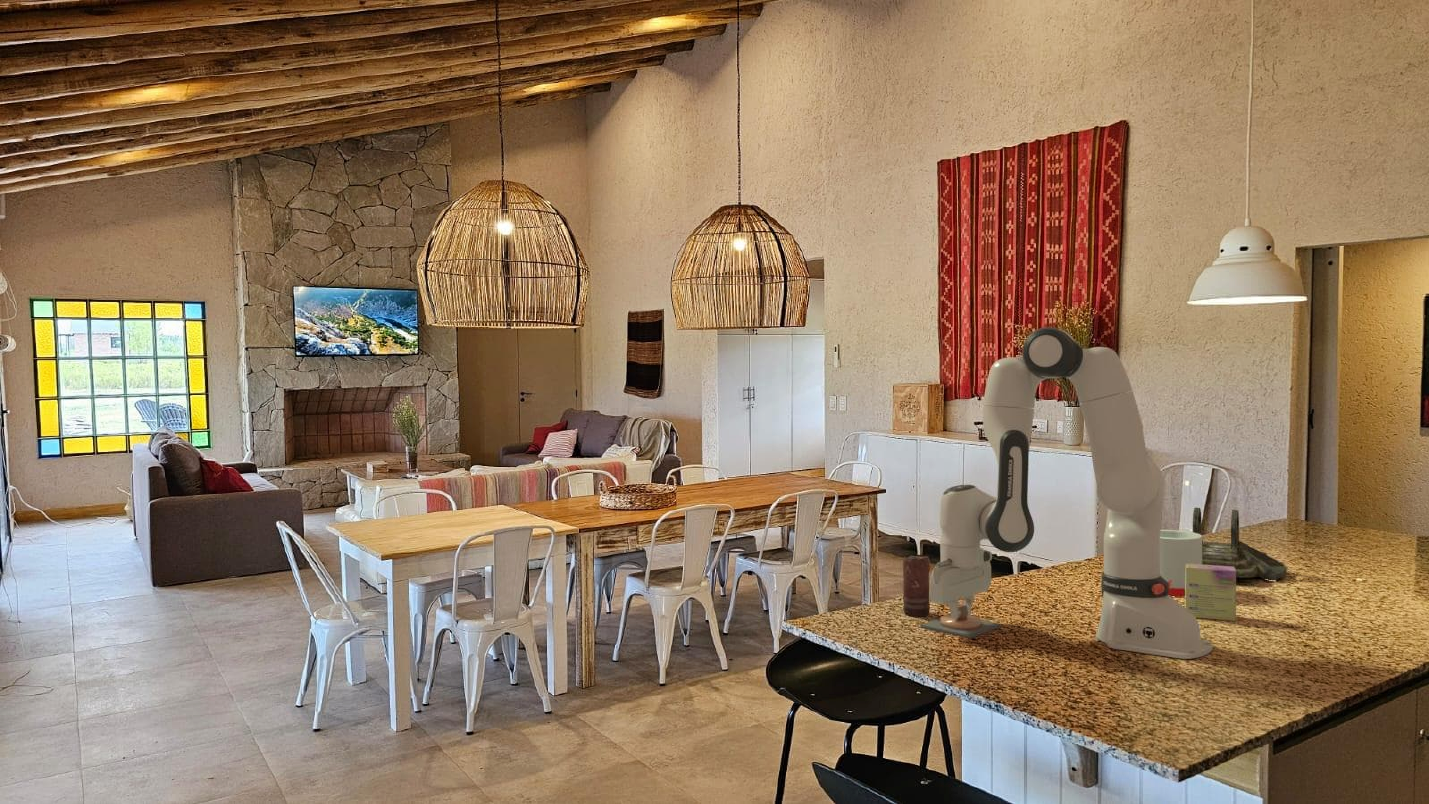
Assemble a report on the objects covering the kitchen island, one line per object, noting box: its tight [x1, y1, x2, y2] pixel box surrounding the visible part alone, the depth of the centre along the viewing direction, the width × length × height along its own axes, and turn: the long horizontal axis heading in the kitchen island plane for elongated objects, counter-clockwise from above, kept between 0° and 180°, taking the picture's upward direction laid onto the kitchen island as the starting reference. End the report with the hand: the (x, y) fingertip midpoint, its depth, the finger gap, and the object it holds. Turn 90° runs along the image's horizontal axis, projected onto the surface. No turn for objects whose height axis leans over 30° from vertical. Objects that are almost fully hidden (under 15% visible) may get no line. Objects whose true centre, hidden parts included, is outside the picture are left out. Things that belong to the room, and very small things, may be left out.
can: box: [902, 554, 931, 618], centre depth 228 cm, size 6×6×14 cm
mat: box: [919, 617, 1002, 639], centre depth 216 cm, size 13×13×1 cm
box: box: [1184, 563, 1237, 622], centre depth 221 cm, size 10×6×12 cm, turn 65°
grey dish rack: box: [1192, 507, 1288, 581], centre depth 269 cm, size 35×34×18 cm
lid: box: [940, 604, 982, 630], centre depth 216 cm, size 9×9×4 cm
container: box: [1160, 529, 1203, 598], centre depth 248 cm, size 16×16×15 cm
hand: (960, 616), depth 216 cm, fingers closed on lid, 3 cm apart
